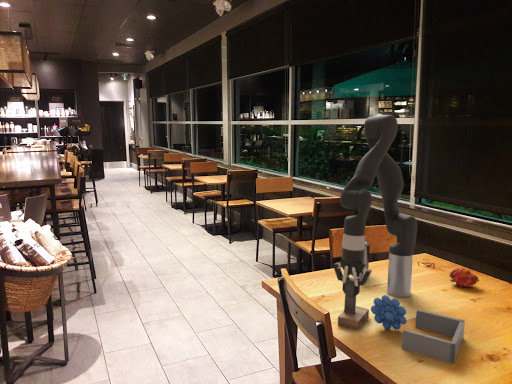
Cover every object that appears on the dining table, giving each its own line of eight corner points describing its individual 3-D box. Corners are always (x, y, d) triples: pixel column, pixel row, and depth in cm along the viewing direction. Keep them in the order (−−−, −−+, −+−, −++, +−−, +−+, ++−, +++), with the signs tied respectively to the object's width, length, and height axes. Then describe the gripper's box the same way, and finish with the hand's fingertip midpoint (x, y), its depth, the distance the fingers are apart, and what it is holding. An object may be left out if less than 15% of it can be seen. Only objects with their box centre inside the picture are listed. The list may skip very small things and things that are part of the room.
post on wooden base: (349, 312, 151) (352, 273, 148) (368, 317, 147) (371, 277, 145) (337, 324, 141) (339, 283, 138) (357, 330, 137) (359, 287, 135)
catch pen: (416, 325, 141) (417, 309, 140) (463, 337, 132) (464, 320, 132) (401, 348, 126) (402, 330, 125) (453, 364, 117) (455, 344, 117)
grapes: (369, 332, 135) (371, 298, 134) (369, 323, 142) (371, 290, 140) (406, 337, 132) (409, 302, 130) (405, 328, 139) (407, 294, 137)
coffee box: (368, 280, 183) (370, 245, 181) (353, 279, 185) (355, 244, 182) (367, 273, 192) (368, 240, 190) (353, 272, 193) (354, 239, 191)
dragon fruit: (445, 286, 181) (475, 294, 177) (449, 281, 174) (480, 289, 170) (448, 268, 184) (478, 275, 180) (452, 262, 177) (483, 270, 173)
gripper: (377, 247, 140) (373, 295, 142) (338, 240, 147) (336, 286, 150) (369, 252, 133) (366, 302, 136) (330, 245, 141) (327, 292, 144)
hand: (350, 293), depth 143 cm, fingers closed on post on wooden base, 3 cm apart
